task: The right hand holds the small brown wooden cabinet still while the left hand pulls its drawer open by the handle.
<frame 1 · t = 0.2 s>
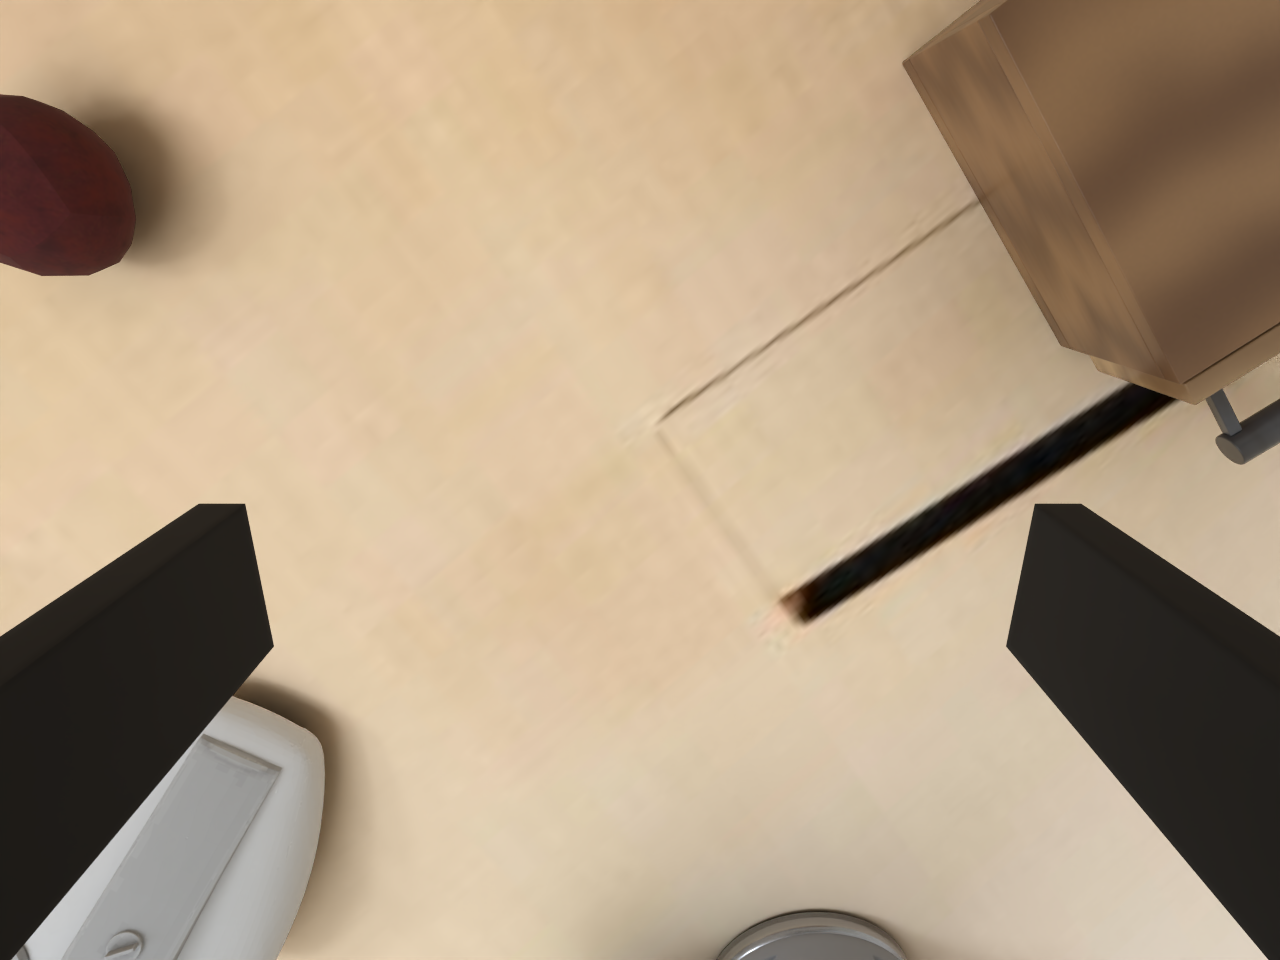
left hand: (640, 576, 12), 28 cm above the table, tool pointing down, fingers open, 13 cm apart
projector: (214, 815, 50), on the table
cabinet: (1086, 141, 36), on the table
drawer: (1199, 241, 33), point 5 cm above the table, slide at 0.7 cm
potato: (95, 194, 36), on the table
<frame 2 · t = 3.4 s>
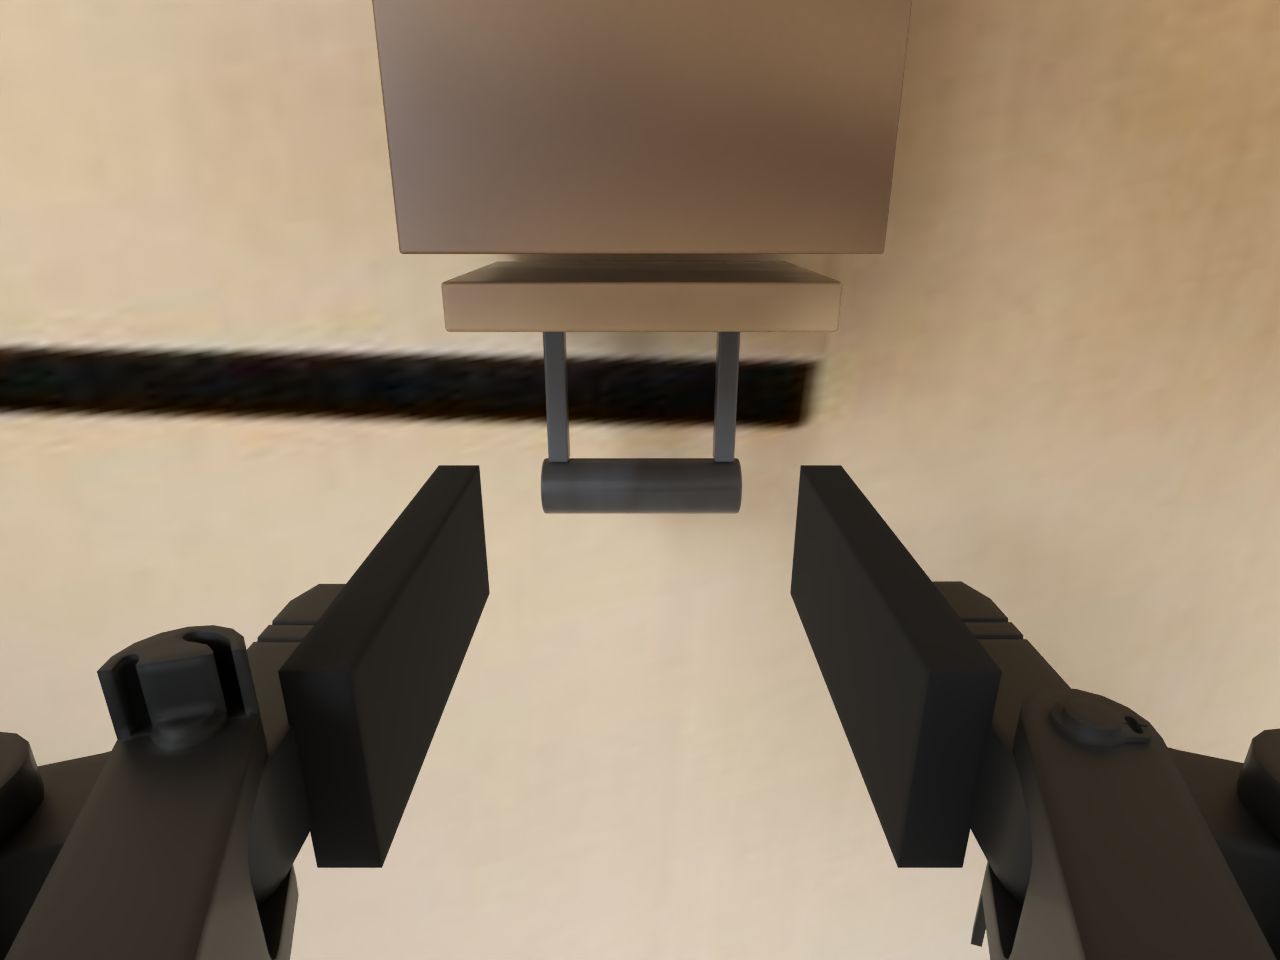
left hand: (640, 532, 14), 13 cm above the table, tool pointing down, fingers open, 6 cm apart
drawer: (641, 136, 20), point 5 cm above the table, slide at 0.7 cm
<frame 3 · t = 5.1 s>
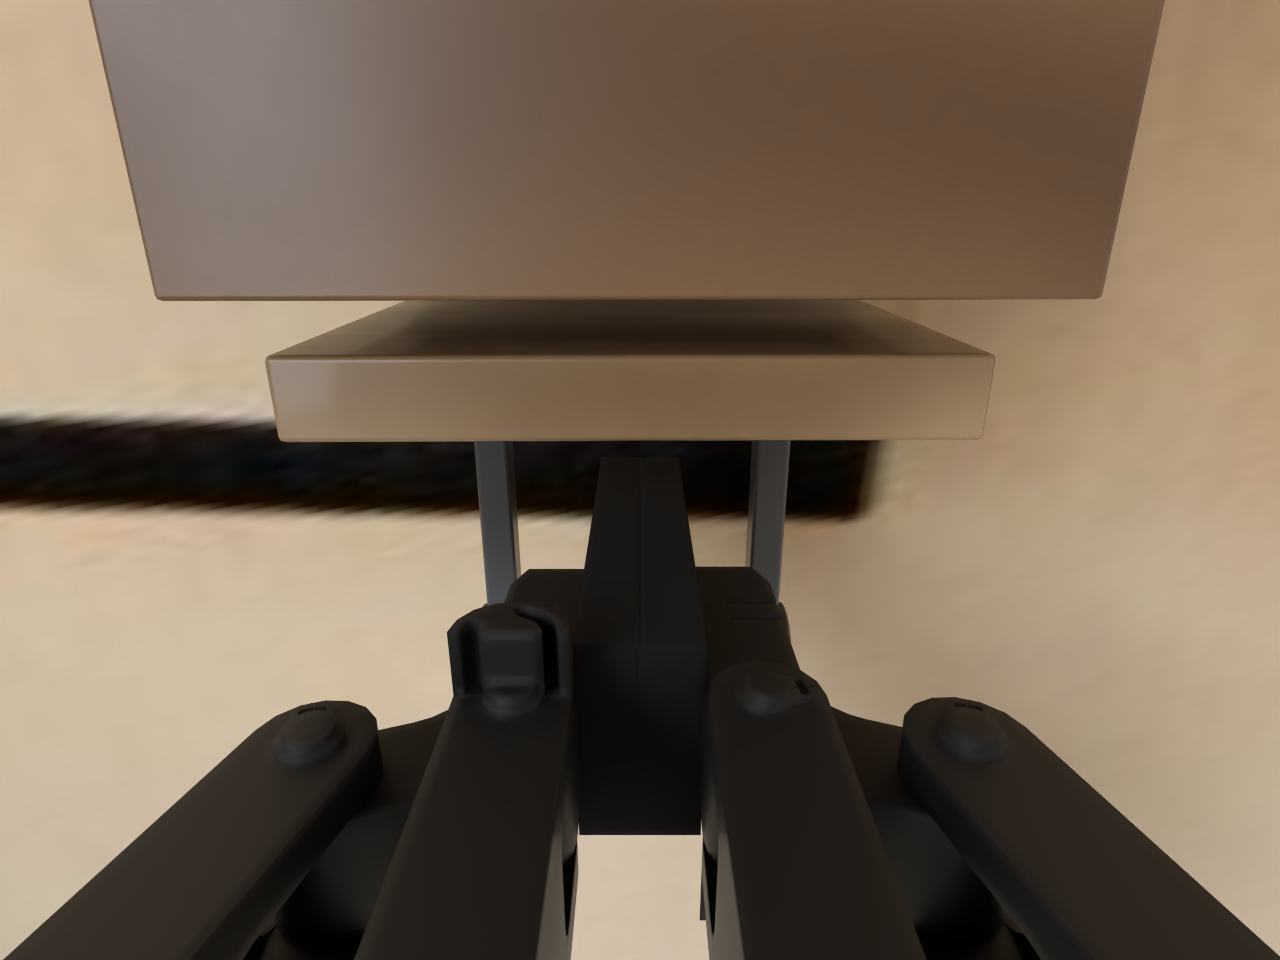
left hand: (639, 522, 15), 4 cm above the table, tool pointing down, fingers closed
drawer: (631, 98, 12), point 5 cm above the table, slide at 0.8 cm
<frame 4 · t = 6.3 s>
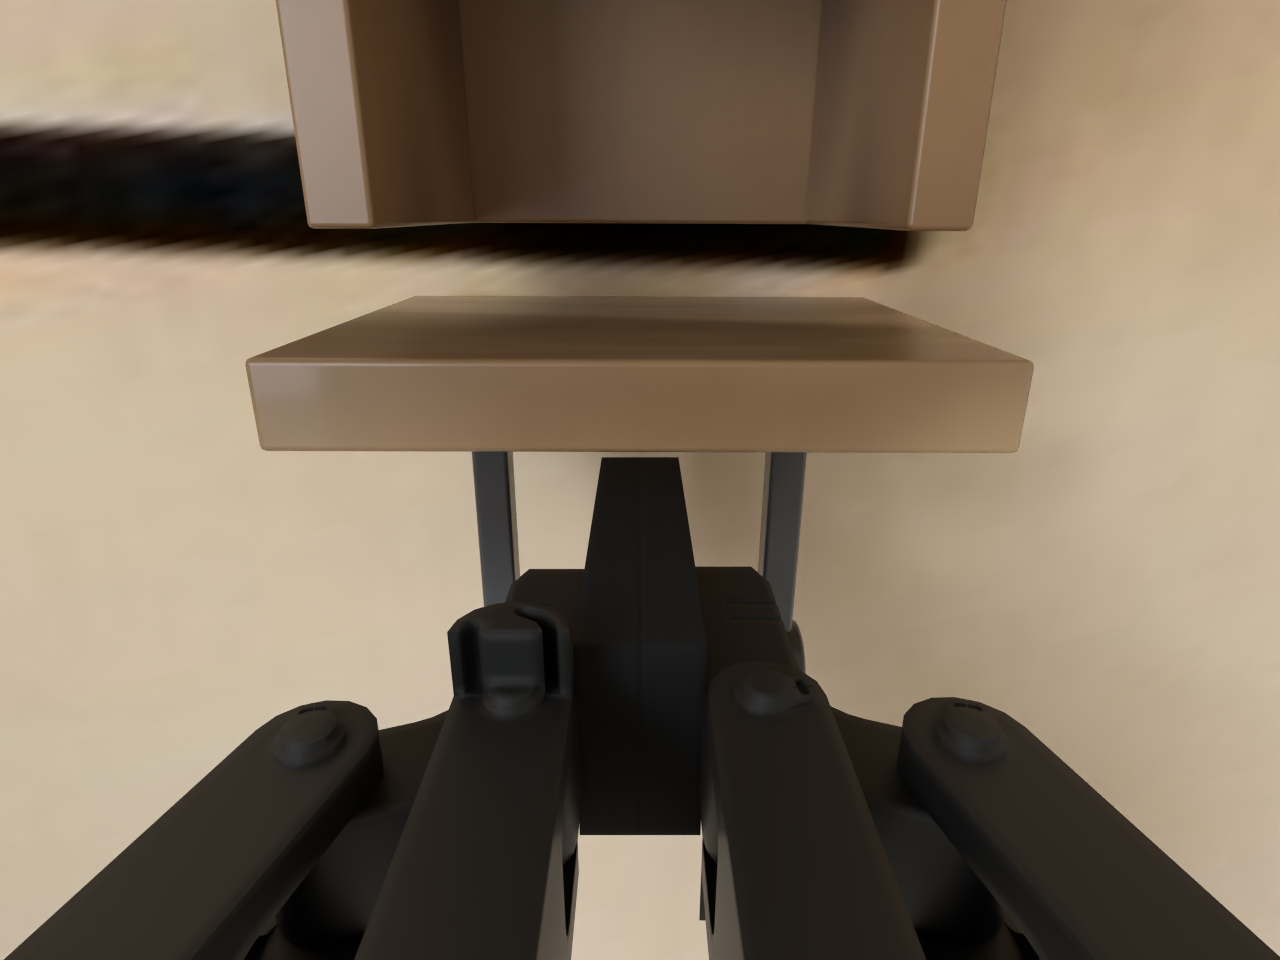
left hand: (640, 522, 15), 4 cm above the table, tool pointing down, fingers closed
drawer: (640, 86, 11), point 5 cm above the table, slide at 7.2 cm, touching left hand
when the right hand's fingers open (4 cm above the table, at t = 8.0 s): cabinet stays where it is, on the table.
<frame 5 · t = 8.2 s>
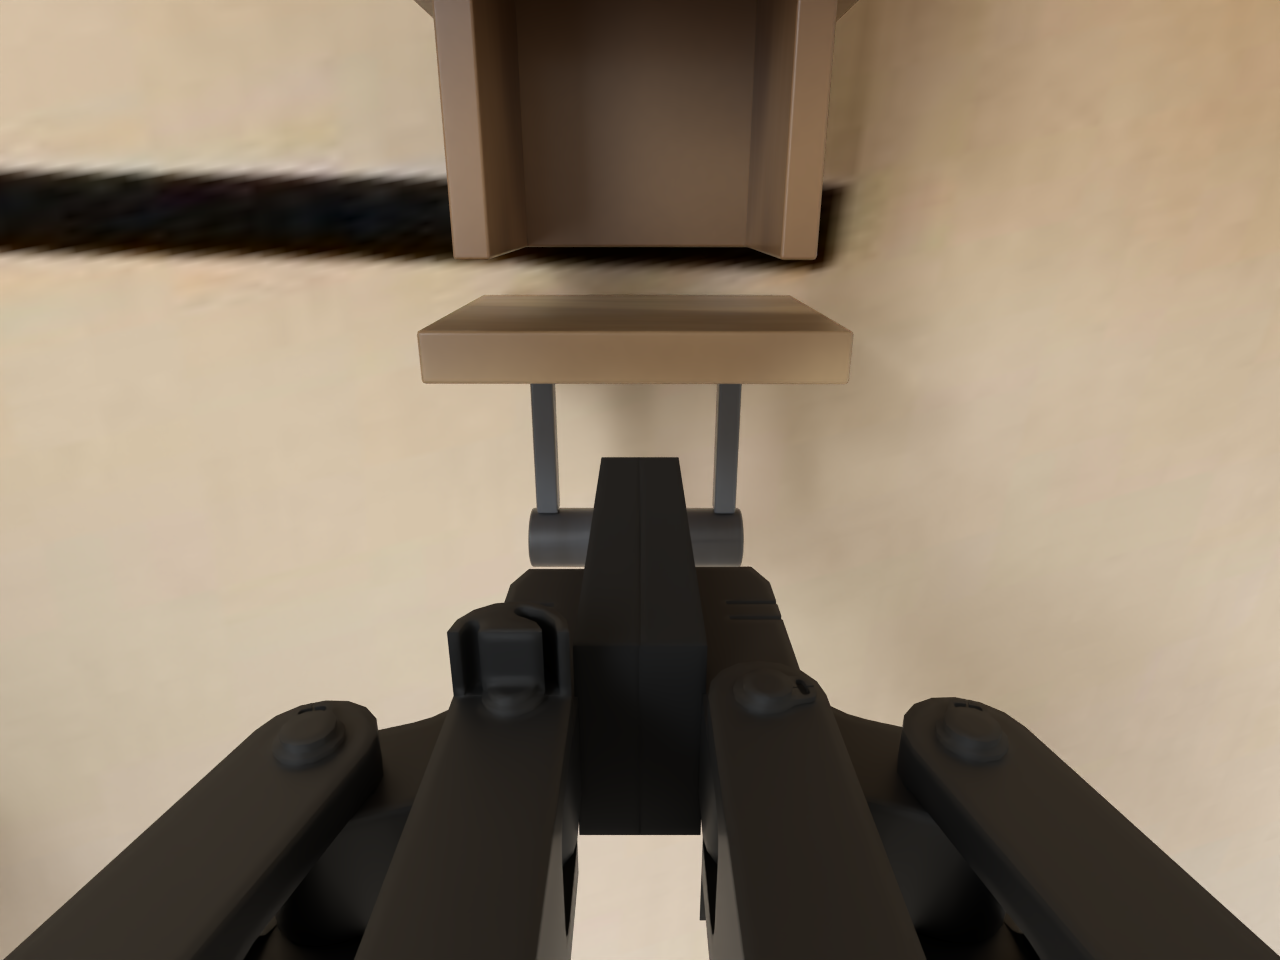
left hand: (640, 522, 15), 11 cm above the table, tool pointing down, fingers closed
drawer: (635, 168, 18), point 5 cm above the table, slide at 7.3 cm
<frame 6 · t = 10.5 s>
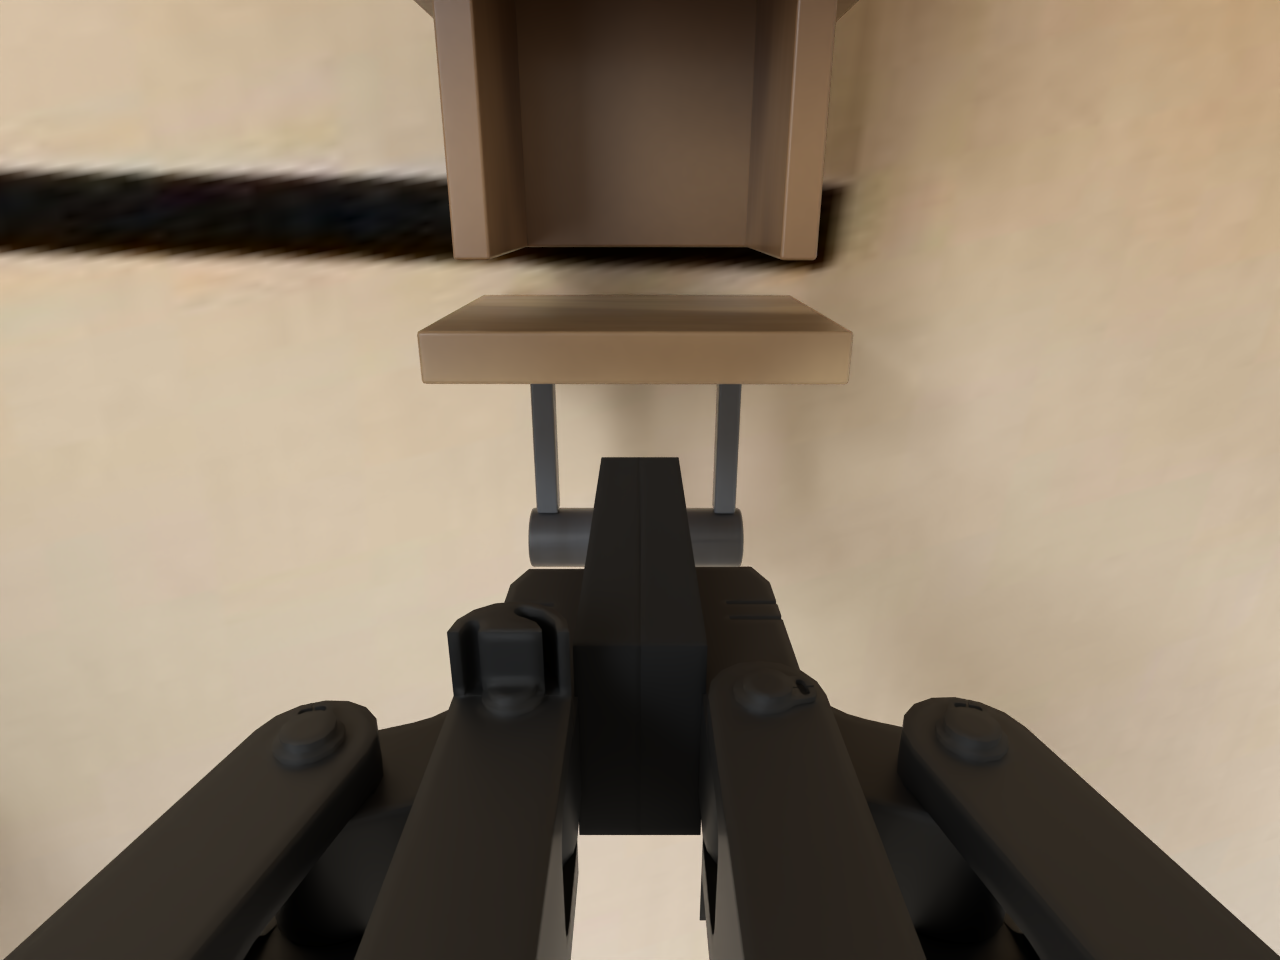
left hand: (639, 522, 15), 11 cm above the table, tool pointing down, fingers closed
drawer: (635, 168, 18), point 5 cm above the table, slide at 7.3 cm
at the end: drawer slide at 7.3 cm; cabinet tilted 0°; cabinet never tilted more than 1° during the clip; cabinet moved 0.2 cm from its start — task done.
